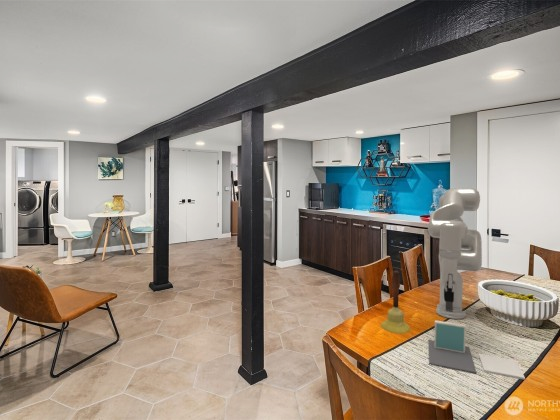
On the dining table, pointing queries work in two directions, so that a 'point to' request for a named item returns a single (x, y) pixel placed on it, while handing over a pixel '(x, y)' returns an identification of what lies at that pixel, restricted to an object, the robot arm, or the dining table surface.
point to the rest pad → (501, 366)
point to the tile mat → (451, 358)
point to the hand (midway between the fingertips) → (448, 299)
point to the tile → (450, 336)
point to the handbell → (395, 311)
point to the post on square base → (449, 308)
